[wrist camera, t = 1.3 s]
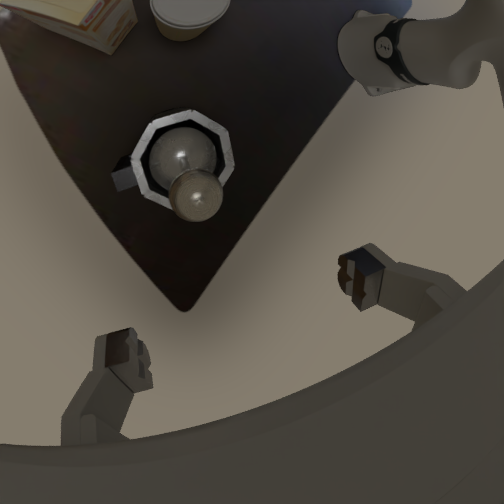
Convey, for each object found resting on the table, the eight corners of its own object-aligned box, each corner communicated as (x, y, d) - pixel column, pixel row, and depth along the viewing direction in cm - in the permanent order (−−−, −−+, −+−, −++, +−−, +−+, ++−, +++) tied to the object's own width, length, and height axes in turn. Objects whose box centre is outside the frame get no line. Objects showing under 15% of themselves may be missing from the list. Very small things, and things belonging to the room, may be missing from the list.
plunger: (207, 119, 28) (243, 135, 17) (221, 179, 33) (261, 235, 21) (141, 138, 27) (127, 169, 15) (160, 198, 31) (164, 266, 20)
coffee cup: (182, -13, 26) (192, -45, 16) (225, 18, 31) (248, -6, 21) (139, 26, 28) (132, 1, 18) (183, 57, 33) (192, 42, 23)
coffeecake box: (139, 20, 27) (128, -31, 12) (111, 57, 29) (77, 28, 13) (70, -7, 19) (27, -53, 4) (43, 29, 21) (-16, 1, 6)
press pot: (203, 100, 38) (222, 101, 26) (218, 165, 44) (241, 192, 33) (116, 127, 35) (96, 140, 24) (136, 191, 42) (129, 229, 30)
